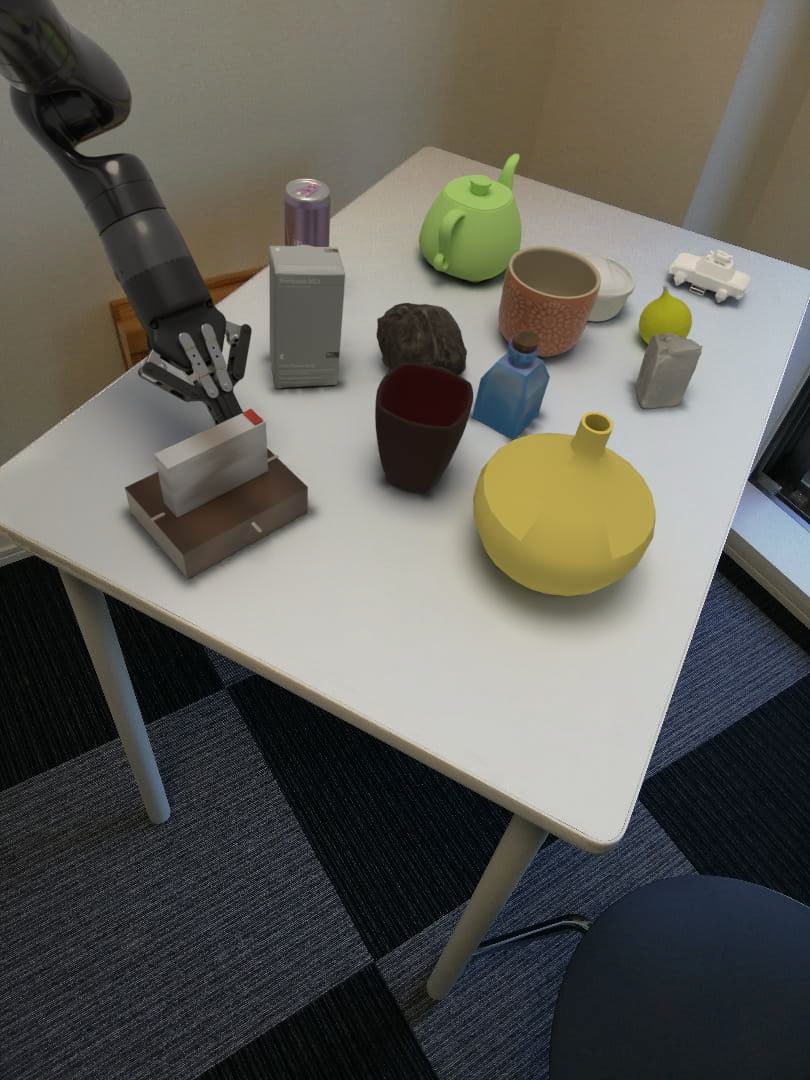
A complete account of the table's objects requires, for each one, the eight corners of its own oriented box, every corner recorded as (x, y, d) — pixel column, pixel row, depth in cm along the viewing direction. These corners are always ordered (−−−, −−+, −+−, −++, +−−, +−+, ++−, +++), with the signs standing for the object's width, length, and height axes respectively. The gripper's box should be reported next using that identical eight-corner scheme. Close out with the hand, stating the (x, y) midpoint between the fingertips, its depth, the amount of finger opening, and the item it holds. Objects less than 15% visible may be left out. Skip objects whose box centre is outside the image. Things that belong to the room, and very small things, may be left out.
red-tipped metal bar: (177, 518, 76) (167, 466, 71) (164, 503, 77) (153, 452, 72) (268, 470, 82) (265, 420, 76) (255, 457, 83) (251, 406, 77)
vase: (629, 640, 78) (706, 517, 63) (451, 604, 78) (486, 473, 63) (627, 508, 89) (691, 379, 75) (472, 477, 90) (506, 343, 75)
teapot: (463, 215, 129) (477, 134, 118) (542, 248, 124) (564, 167, 114) (391, 270, 116) (400, 184, 106) (477, 308, 112) (494, 223, 102)
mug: (357, 490, 87) (364, 409, 78) (397, 415, 95) (407, 334, 86) (440, 516, 86) (457, 438, 76) (473, 438, 94) (491, 359, 85)
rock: (478, 385, 99) (478, 316, 92) (395, 405, 98) (389, 337, 90) (451, 344, 106) (450, 277, 99) (373, 362, 104) (366, 295, 97)
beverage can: (335, 290, 111) (339, 188, 99) (311, 308, 108) (312, 205, 96) (302, 274, 113) (302, 173, 101) (277, 292, 109) (274, 189, 98)
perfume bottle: (497, 393, 100) (516, 314, 91) (537, 415, 98) (562, 337, 89) (471, 417, 97) (489, 338, 87) (513, 440, 95) (536, 361, 86)
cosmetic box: (274, 390, 96) (270, 277, 84) (269, 354, 100) (264, 242, 88) (341, 386, 98) (347, 275, 86) (333, 351, 102) (337, 241, 90)
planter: (538, 380, 103) (559, 309, 94) (473, 332, 108) (488, 262, 100) (596, 348, 109) (621, 279, 100) (532, 304, 114) (551, 236, 106)
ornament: (624, 330, 112) (647, 268, 105) (666, 327, 114) (693, 266, 106) (645, 361, 108) (671, 299, 100) (689, 357, 110) (718, 296, 102)
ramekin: (639, 315, 115) (651, 283, 111) (585, 335, 110) (596, 303, 106) (588, 276, 121) (598, 245, 116) (535, 294, 116) (544, 262, 112)
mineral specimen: (700, 397, 103) (716, 352, 96) (644, 419, 102) (656, 376, 95) (669, 362, 107) (682, 317, 100) (615, 383, 106) (624, 338, 99)
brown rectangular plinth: (198, 593, 76) (194, 568, 73) (120, 501, 82) (112, 474, 79) (320, 523, 83) (321, 497, 80) (239, 443, 90) (237, 416, 86)
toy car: (672, 267, 125) (689, 228, 120) (744, 294, 122) (764, 255, 117) (661, 284, 121) (677, 244, 116) (735, 312, 118) (755, 272, 113)
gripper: (102, 278, 70) (191, 452, 74) (226, 237, 76) (301, 400, 80) (85, 300, 76) (169, 460, 80) (201, 261, 82) (272, 410, 87)
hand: (235, 429), depth 80 cm, fingers closed
